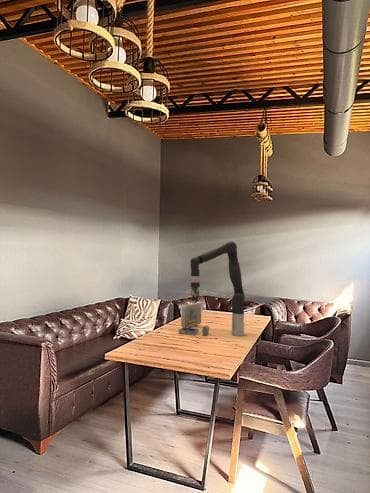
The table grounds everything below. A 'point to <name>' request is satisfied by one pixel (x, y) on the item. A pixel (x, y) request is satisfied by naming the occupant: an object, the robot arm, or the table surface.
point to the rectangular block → (205, 330)
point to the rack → (188, 331)
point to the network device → (191, 315)
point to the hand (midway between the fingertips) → (194, 301)
